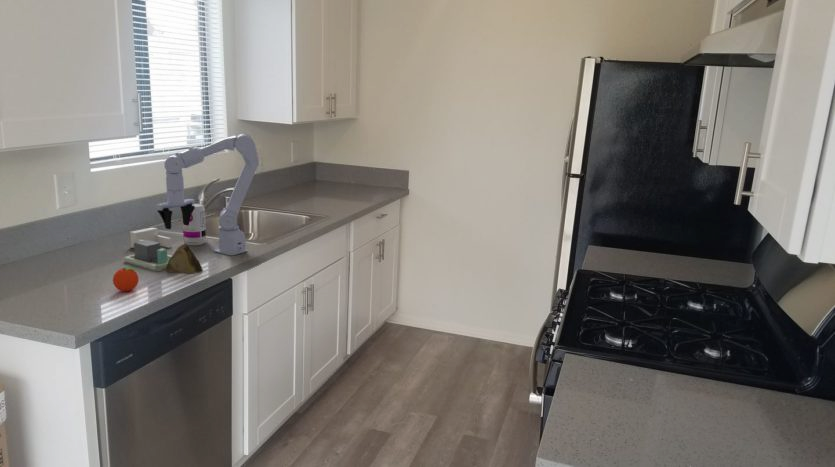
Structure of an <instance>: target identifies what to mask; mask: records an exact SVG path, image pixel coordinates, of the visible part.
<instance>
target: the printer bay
mask: <svg viewBox="0 0 835 467" xmlns="http://www.w3.org/2000/svg"><path fill="white" fill-rule="evenodd" d="M129 233H130V247H131V249H132V248H133V249H134V243H135V242H139V241H144V240H149V241H153V242H157V243H160V247H165V248H167V249H169V248H172V238H171V237H170V236H169V237H168V236H164V235H159V228H157V227H148V228H143V229H138V230H133V231H130V232H129Z"/></svg>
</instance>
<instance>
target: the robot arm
mask: <svg viewBox="0 0 835 467" xmlns="http://www.w3.org/2000/svg"><path fill="white" fill-rule="evenodd" d="M225 150H230V151H235V150H237V152H238V153H239V154H240V155H241V156H242V158H243V161H244V164H243V167H242V169H241V171H240V174H239V176H238V179H237V181H236V184H235V186H234V187H233V190H232V193H231V195H230V198H229V200H228V202H227V204H226V206H225V208H223V209H222V210H221V211H220V213H219V220H218V222H219V226H218V227H217V228H218V248H216V249H214V250H213V251H214V252H216V253H219V254H224V255H227V256H235V255H240V254H243V253H245V252H246V251H247V252H248V249H247V248H246V234H245V232H244V231H243V230H240V227H239V225H238V215H239V213H240V209H241V206H242V205H243V201H244V199H245V197H246V195H247V193H248V190H249V188H250V185H251V183H252V181H253V178H254V176H255V173H256V171H257V169H258V167H259V163H260V160H259V156H258V152H257V146H256V143H255V142H254V140H253V139H252V137H251V135H249V134H248V133H239V134H238V135H231V136H228V137H226V138H223V139H221V140H218V141H216V142H213V143H212V144H209V145H207V146H204V147H202V148H201V147H198V146H194V147H193V146H189V147H188V149H186V150H184V151H182V152H176V153H175V155H171V156H168V157H167V158H166V160H165V162H164V168H165V176H166V177H165V185H166V199H167V201H166V202H161V203H157V204H156V210H157V213H158V214H159V216H160V217H161V219H162V221H163V224H164V227H165V229H166V230H171V229H172V216H173V210H170V209H173V208H180V210H181V214H182V215H183V218H182V225H183V224H184V225H187V226H188V225H189V221H190V217H191V214H192V212H193V210H194V209H195V206H192V205H195V204H196V202H195V199H194V198H186V199H185V187H184V186H185V184H184V175H183V169H188V168H190V167H193V166H195V165H198V164H200V163H203V162H204V160H205V157H208V156H210V155H213V154H216V153H220V152H221V151H225ZM182 215H181V216H182Z"/></svg>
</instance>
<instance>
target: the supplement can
mask: <svg viewBox="0 0 835 467" xmlns="http://www.w3.org/2000/svg"><path fill="white" fill-rule="evenodd" d="M192 206H195V209H194V210H193V212H192V214H191V217H190V221H189V225H188V226H187V225H184V224H183V223H182V232H183V235H182V236H183V243H184V245H187V246H201V245H204V244H205V243H206V242H207V226H206V224H207V223H206V208H205V207H204V205H203V204H202V203H195V205H192ZM181 216H182V219H183V215H181Z"/></svg>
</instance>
